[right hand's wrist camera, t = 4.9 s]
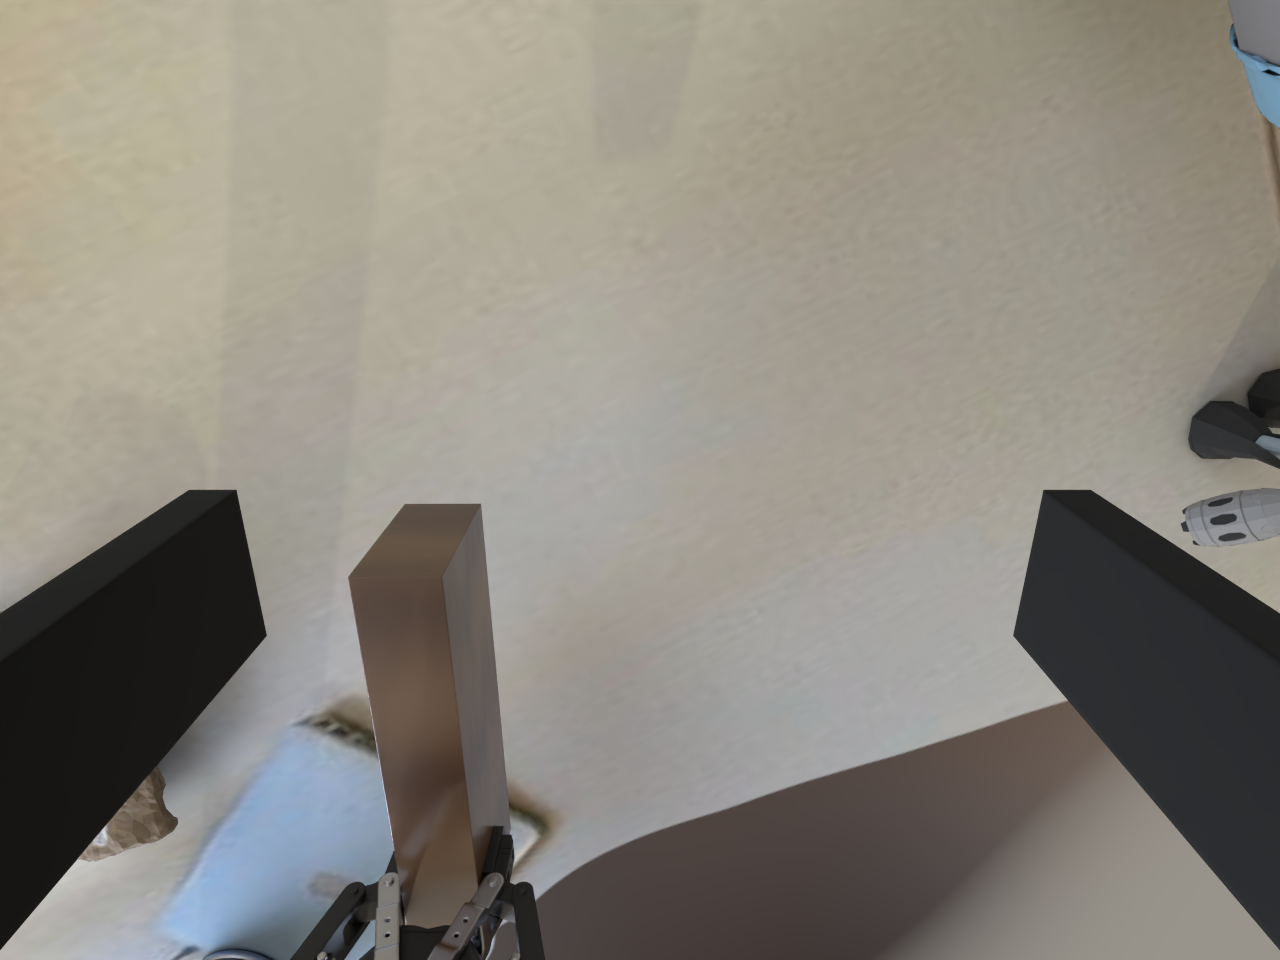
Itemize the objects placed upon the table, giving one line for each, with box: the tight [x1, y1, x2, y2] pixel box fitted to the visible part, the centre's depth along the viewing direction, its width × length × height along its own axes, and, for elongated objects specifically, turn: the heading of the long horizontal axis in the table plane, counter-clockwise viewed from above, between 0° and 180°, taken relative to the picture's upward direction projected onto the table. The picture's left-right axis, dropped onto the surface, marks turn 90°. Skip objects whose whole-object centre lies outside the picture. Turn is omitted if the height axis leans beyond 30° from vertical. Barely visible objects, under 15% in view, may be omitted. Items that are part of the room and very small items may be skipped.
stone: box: [78, 766, 178, 861], centre depth 60 cm, size 21×15×6 cm
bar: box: [348, 504, 511, 929], centre depth 44 cm, size 25×4×9 cm, turn 0°
